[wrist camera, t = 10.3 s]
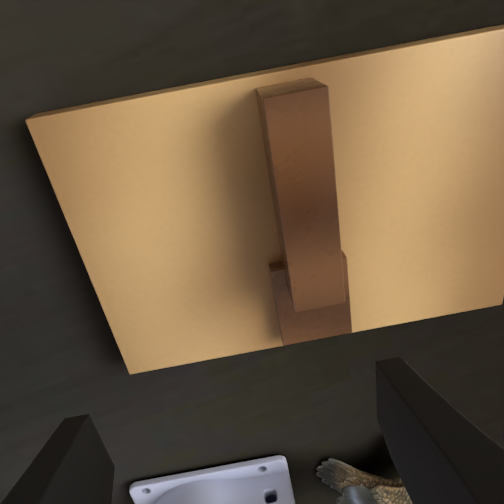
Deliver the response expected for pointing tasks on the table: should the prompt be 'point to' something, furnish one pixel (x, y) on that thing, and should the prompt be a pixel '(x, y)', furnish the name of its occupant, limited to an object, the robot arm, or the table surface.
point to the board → (261, 202)
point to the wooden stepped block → (304, 211)
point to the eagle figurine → (361, 485)
